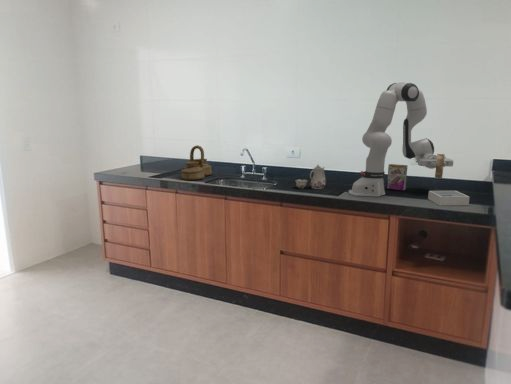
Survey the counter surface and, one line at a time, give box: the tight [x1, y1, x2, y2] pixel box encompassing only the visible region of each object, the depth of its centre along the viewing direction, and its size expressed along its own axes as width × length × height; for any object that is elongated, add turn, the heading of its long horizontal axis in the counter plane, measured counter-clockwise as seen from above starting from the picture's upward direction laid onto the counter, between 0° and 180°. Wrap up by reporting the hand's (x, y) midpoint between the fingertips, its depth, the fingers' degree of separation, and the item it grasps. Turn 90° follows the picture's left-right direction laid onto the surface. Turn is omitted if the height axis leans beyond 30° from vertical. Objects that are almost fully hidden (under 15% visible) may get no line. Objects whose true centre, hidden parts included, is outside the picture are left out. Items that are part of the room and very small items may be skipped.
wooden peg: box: [434, 153, 446, 179], centre depth 247 cm, size 4×4×14 cm
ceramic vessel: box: [180, 145, 213, 181], centre depth 322 cm, size 34×18×25 cm, turn 168°
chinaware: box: [294, 163, 327, 190], centre depth 281 cm, size 28×17×17 cm, turn 135°
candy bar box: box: [386, 163, 408, 192], centre depth 271 cm, size 11×5×16 cm, turn 55°
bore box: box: [427, 190, 470, 207], centre depth 237 cm, size 16×16×5 cm
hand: (440, 164), depth 246 cm, fingers closed on wooden peg, 4 cm apart
